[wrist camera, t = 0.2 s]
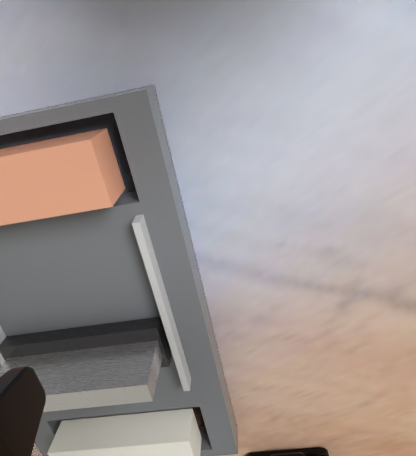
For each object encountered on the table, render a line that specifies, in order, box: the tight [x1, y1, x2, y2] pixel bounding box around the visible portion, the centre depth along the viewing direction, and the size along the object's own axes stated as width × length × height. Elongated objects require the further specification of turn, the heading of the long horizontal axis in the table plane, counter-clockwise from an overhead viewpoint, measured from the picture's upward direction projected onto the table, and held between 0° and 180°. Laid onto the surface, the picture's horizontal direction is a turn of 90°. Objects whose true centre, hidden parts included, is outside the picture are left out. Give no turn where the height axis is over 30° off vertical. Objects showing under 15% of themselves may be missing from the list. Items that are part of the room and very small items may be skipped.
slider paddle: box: [0, 317, 172, 412], centre depth 22 cm, size 3×10×4 cm, turn 101°
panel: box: [0, 85, 238, 456], centre depth 24 cm, size 26×15×3 cm, turn 11°
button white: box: [47, 408, 202, 456], centre depth 27 cm, size 3×10×2 cm, turn 101°
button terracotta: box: [0, 128, 125, 226], centre depth 19 cm, size 3×10×2 cm, turn 101°
